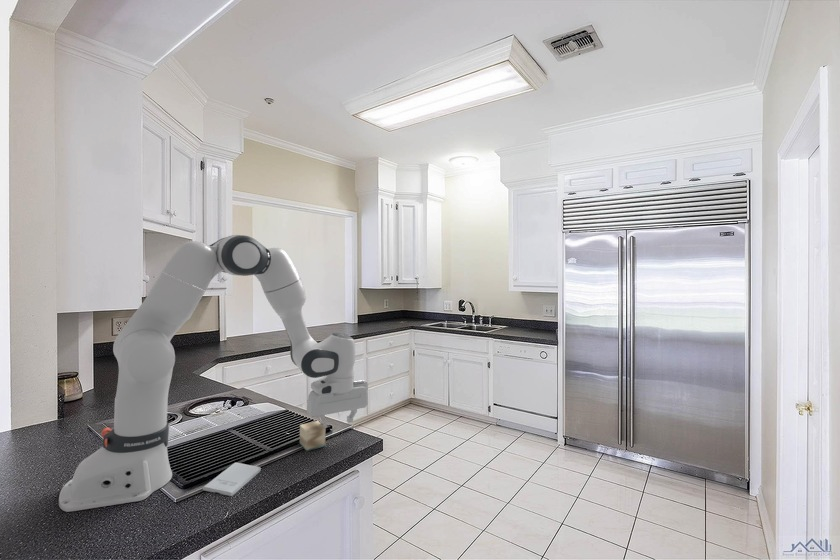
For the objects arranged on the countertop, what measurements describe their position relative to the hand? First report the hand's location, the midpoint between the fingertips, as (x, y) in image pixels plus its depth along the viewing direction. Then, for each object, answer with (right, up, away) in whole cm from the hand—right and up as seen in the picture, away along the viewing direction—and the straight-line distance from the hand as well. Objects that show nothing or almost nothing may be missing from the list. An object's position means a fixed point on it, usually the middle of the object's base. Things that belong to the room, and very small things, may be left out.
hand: (337, 424), depth 135 cm
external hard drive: (-22, -6, -26) cm, 35 cm away
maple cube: (-7, -5, -4) cm, 10 cm away
